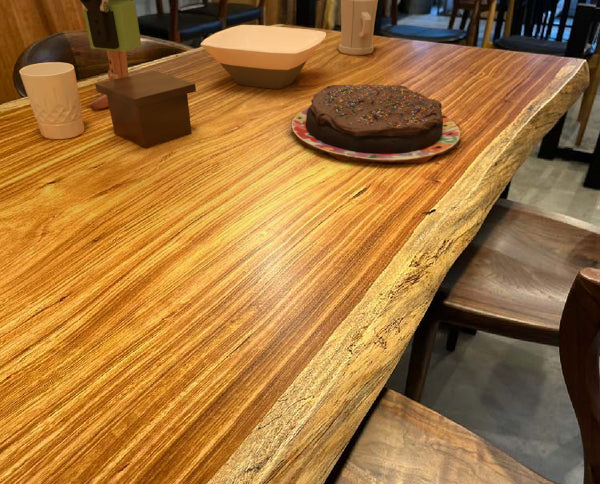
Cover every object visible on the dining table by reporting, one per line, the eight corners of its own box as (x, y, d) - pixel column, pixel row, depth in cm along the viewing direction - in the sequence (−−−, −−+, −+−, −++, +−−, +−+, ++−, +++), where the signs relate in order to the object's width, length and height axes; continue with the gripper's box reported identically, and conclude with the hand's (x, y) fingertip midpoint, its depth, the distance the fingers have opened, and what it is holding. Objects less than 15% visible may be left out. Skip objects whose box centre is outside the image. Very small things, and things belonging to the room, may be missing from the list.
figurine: (103, 93, 106) (79, -25, 93) (143, 95, 105) (124, -23, 93) (78, 110, 97) (48, -17, 85) (122, 113, 96) (98, -15, 84)
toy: (90, 48, 66) (81, 2, 63) (106, 42, 68) (97, -2, 65) (127, 51, 65) (119, 5, 62) (141, 45, 68) (134, 0, 65)
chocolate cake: (478, 169, 78) (488, 124, 74) (287, 165, 79) (287, 121, 75) (441, 107, 101) (447, 71, 97) (293, 105, 101) (293, 68, 97)
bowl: (301, 102, 103) (302, 54, 97) (194, 89, 108) (189, 44, 103) (333, 72, 119) (334, 31, 114) (238, 63, 125) (236, 23, 120)
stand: (105, 134, 88) (95, 83, 83) (161, 117, 95) (154, 70, 90) (144, 152, 82) (134, 99, 77) (200, 133, 89) (195, 83, 84)
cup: (385, 52, 135) (391, -2, 127) (364, 59, 129) (369, 3, 122) (352, 45, 140) (355, -7, 133) (330, 51, 135) (333, -3, 127)
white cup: (69, 121, 93) (53, 59, 87) (98, 130, 89) (84, 67, 83) (28, 134, 88) (8, 69, 82) (57, 145, 84) (39, 78, 78)
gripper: (92, -145, 62) (121, 28, 74) (-5, -155, 50) (48, 57, 61) (151, -145, 61) (172, 32, 72) (67, -154, 48) (108, 62, 59)
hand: (115, 42), depth 66 cm, fingers closed on toy, 3 cm apart
